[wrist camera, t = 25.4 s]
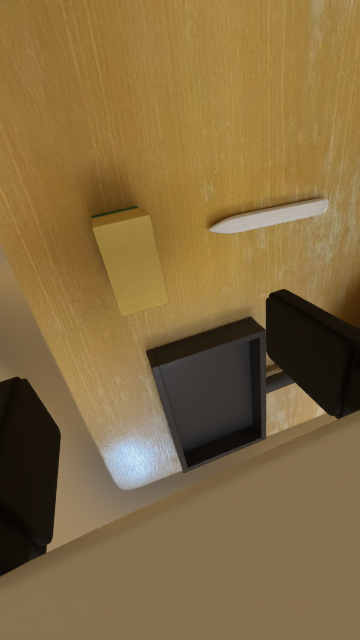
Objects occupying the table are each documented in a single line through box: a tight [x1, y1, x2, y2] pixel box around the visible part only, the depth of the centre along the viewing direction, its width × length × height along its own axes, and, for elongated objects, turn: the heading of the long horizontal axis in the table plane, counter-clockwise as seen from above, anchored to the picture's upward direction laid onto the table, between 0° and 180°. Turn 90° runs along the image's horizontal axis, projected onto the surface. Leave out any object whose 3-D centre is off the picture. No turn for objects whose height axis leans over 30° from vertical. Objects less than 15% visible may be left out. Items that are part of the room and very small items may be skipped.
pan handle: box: [266, 371, 295, 394], centre depth 37 cm, size 7×2×2 cm, turn 100°
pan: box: [146, 317, 266, 473], centre depth 36 cm, size 14×21×3 cm, turn 10°
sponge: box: [92, 206, 169, 317], centre depth 22 cm, size 4×7×6 cm, turn 10°
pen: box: [208, 198, 329, 233], centre depth 26 cm, size 2×14×2 cm, turn 97°
